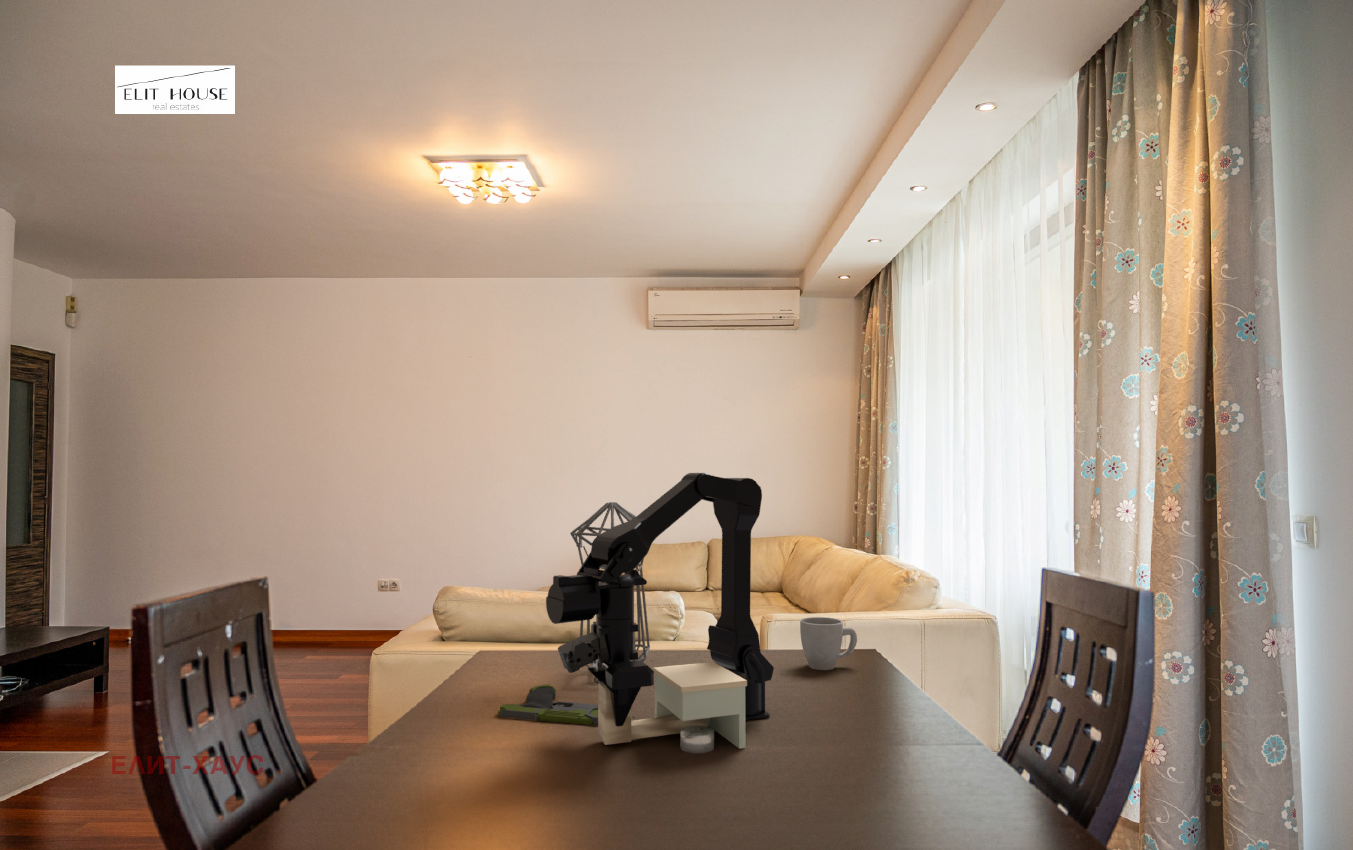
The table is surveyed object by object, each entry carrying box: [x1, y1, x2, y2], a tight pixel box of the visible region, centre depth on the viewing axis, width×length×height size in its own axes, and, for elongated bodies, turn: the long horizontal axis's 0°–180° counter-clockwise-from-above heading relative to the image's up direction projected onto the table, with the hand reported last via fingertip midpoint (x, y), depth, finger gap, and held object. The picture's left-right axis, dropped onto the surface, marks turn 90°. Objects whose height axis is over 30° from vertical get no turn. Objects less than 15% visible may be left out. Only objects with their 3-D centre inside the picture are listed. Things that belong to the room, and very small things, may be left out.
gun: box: [497, 684, 598, 726], centre depth 134 cm, size 2×19×15 cm
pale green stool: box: [652, 661, 747, 750], centre depth 119 cm, size 10×12×10 cm
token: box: [679, 725, 715, 754], centre depth 115 cm, size 5×5×2 cm
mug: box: [799, 616, 858, 671], centre depth 163 cm, size 12×9×10 cm
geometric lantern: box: [570, 501, 651, 683], centre depth 156 cm, size 16×16×35 cm
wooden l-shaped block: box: [597, 682, 706, 746], centre depth 119 cm, size 16×4×8 cm, turn 111°
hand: (615, 721), depth 117 cm, fingers closed on wooden l-shaped block, 4 cm apart
